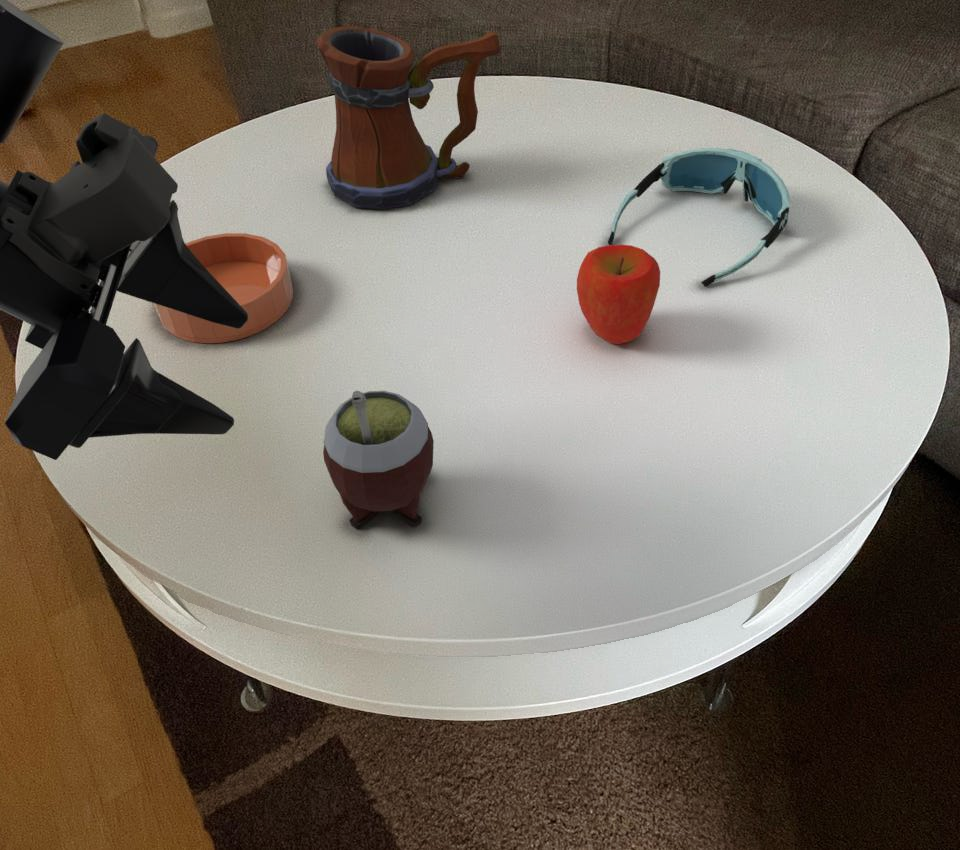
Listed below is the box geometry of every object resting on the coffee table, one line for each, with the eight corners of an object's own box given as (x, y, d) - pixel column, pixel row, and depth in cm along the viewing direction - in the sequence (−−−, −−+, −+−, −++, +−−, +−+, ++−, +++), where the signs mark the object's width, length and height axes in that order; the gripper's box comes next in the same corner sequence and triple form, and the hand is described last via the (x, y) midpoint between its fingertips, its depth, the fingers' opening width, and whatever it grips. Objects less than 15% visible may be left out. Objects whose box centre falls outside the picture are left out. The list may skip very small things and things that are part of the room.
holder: (131, 326, 78) (119, 296, 75) (209, 253, 85) (200, 223, 83) (246, 356, 74) (237, 325, 72) (317, 277, 82) (311, 246, 79)
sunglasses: (809, 220, 85) (817, 174, 81) (721, 313, 78) (725, 268, 75) (680, 172, 92) (682, 128, 88) (590, 254, 85) (588, 211, 82)
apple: (562, 343, 74) (565, 266, 68) (595, 302, 77) (600, 226, 72) (634, 367, 71) (642, 289, 66) (665, 323, 75) (675, 246, 70)
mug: (500, 147, 97) (496, 2, 87) (508, 204, 89) (504, 51, 78) (331, 158, 97) (307, 13, 86) (324, 216, 89) (296, 64, 78)
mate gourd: (391, 448, 66) (364, 278, 55) (469, 504, 62) (456, 332, 51) (310, 507, 62) (265, 337, 52) (387, 571, 58) (354, 400, 48)
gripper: (-32, 212, 34) (314, 399, 42) (76, 21, 47) (324, 191, 55) (-138, 388, 39) (189, 524, 47) (-13, 172, 52) (225, 307, 61)
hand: (238, 371), depth 53 cm, fingers open, 9 cm apart
